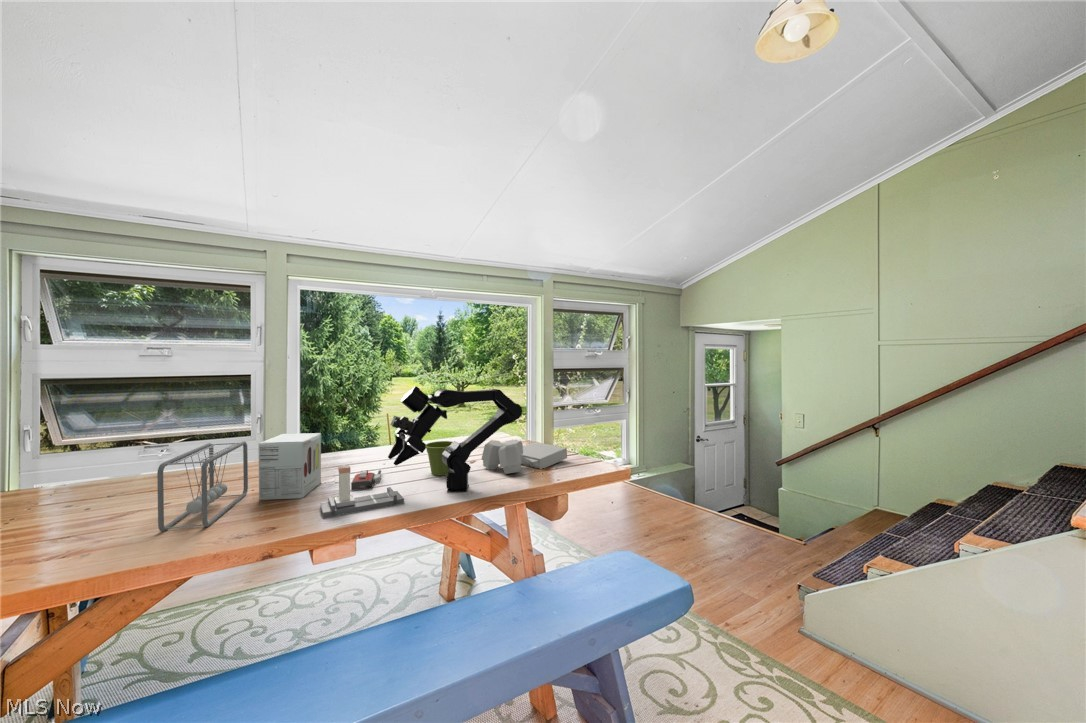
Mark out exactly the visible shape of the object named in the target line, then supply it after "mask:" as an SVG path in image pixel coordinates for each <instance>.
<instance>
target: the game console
mask: <svg viewBox="0 0 1086 723" xmlns="http://www.w3.org/2000/svg"><path fill="white" fill-rule="evenodd" d="M522 442H523V440H517V439H510V440H505V441H504V442H501V441H499V440H495V439H494V440H493V439H491V440H489V441H488V442H487V443H485V444H484V448H483V451H482V456H481V460H482V466H483V467H484V468H486V469H487V470H492V469H495V470H496V469H497V468H498V467H500V468H502V470H503V472H504V475H507V474H508V475H509V474H513V473H519V472H521V467H522V464H523V466H525V465H526V467H529V466H530V467H529V468H533V467H534V468H535V469H537V468H539V469H538V470H543V469H542V468H544V469H546V468H548V467H550V466H552V465H554V464H558V463H560V462H561V461H563V460H566V459H568V452H567V451H568V450H567V447H563V446H560V445H559V446H558V445H554V444H548V443H543V442H537V441H533V442H531V443H528V444H525V445H523V443H522Z"/></svg>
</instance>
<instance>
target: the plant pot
mask: <svg viewBox="0 0 1086 723" xmlns="http://www.w3.org/2000/svg"><path fill="white" fill-rule="evenodd" d="M453 442H454V441H451V440H450V441H449V440H440V441H439V440H438V441H433V442H432V441H431V442H427V443H425V444H426V449H425V450H426V453H427V456H428V461H429V467H430V472H431V474H432V475H433V476H440V475H441V476H447V475H448V472H449V469H448V468H447V466H446V465H445V464H444V463H443V462H442V453H443V452H444V451H445V448H447V447H448V446H450V445H451V444H452V443H453Z"/></svg>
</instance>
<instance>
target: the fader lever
mask: <svg viewBox="0 0 1086 723" xmlns="http://www.w3.org/2000/svg"><path fill="white" fill-rule="evenodd" d="M337 470H338V496H336V497H334V498H333V500H334V503H335V505H336V508H337V507H343V506H349V505H355V499H354V498H355V497H354V495H353V494H351V466H350V465H349V464H346V465H344V464H343V465H338V469H337Z"/></svg>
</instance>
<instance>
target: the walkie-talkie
mask: <svg viewBox="0 0 1086 723" xmlns="http://www.w3.org/2000/svg"><path fill="white" fill-rule="evenodd" d="M381 480H382V470H381V469H379V470H378V472H377V473H375V472H369V470H368V469H367V470H361V471H360V472H359V473H357V474H355V475H354V477H353V479H352V481H351V482H350V491H358V490H359V491H361V490H370V489H372V488H373V487H374V485H376V484H379V483H380V482H381Z"/></svg>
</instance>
